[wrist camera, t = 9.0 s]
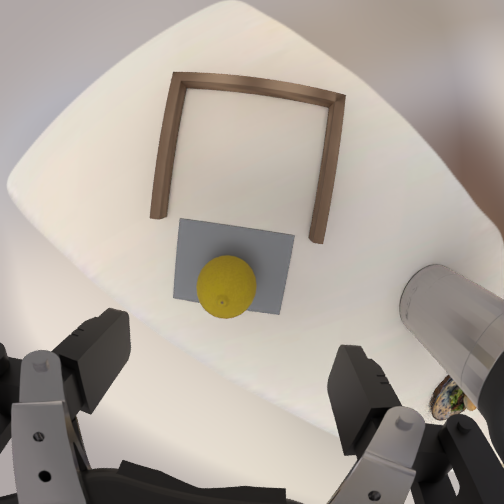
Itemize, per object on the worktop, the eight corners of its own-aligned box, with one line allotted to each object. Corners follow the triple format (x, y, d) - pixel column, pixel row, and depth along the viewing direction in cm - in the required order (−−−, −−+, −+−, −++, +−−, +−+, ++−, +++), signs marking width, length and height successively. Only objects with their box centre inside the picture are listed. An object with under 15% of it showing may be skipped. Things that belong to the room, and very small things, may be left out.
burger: (420, 394, 35) (440, 424, 28) (476, 348, 34) (501, 371, 26) (435, 424, 38) (451, 450, 30) (483, 384, 36) (503, 406, 28)
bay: (339, 101, 26) (345, 95, 24) (317, 239, 30) (322, 244, 27) (179, 79, 26) (173, 71, 24) (158, 215, 30) (149, 218, 27)
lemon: (255, 298, 31) (254, 334, 24) (204, 295, 31) (189, 330, 24) (257, 248, 30) (258, 271, 22) (204, 246, 30) (187, 268, 22)
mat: (294, 235, 30) (294, 235, 30) (279, 314, 32) (279, 314, 32) (180, 218, 30) (179, 218, 30) (173, 297, 32) (173, 297, 32)
